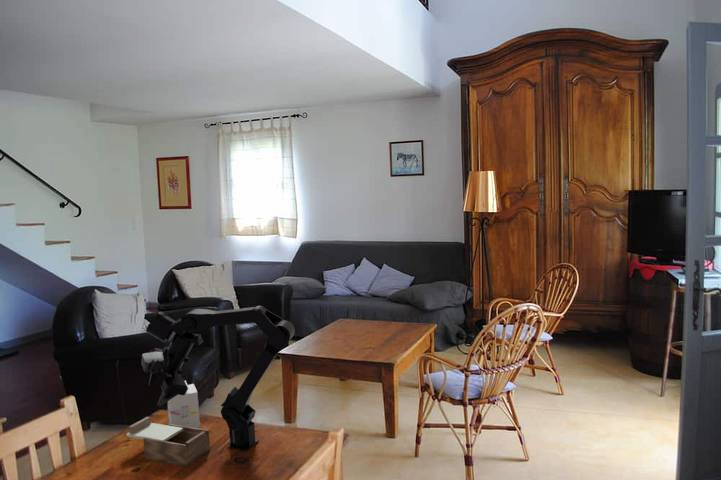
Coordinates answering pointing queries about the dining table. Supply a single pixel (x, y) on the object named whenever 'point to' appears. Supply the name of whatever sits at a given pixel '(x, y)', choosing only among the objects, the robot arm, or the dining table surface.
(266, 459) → the dining table surface
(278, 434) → the dining table surface
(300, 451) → the dining table surface
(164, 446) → the walnut box
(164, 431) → the lid
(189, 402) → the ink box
